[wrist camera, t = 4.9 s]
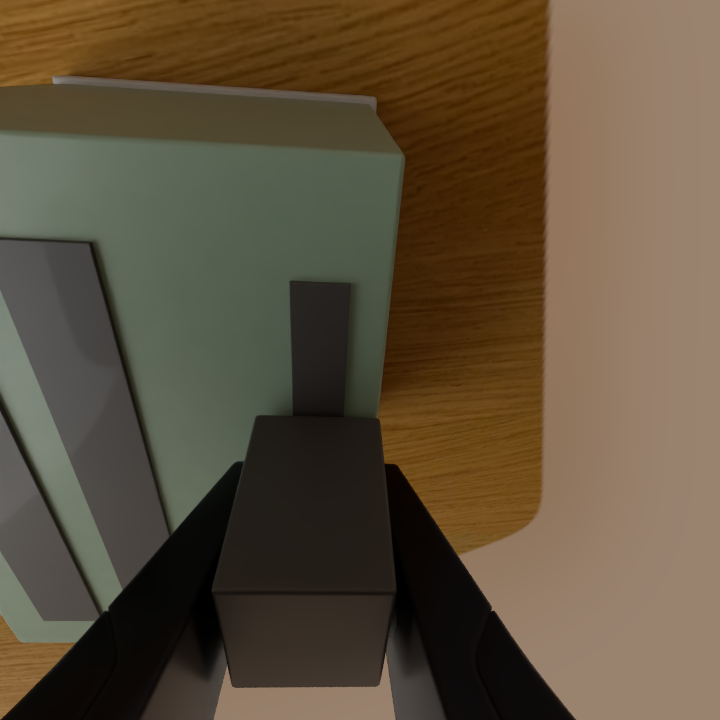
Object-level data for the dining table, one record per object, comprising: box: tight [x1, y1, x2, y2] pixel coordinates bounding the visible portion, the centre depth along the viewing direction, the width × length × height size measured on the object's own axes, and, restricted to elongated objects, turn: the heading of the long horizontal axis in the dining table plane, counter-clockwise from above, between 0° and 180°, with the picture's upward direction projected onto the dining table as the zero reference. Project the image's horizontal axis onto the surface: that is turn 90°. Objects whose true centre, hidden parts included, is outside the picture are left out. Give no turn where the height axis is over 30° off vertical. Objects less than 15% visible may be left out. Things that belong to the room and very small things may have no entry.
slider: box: [212, 415, 397, 688], centre depth 8 cm, size 2×3×4 cm
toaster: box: [0, 75, 405, 643], centre depth 14 cm, size 10×14×11 cm
